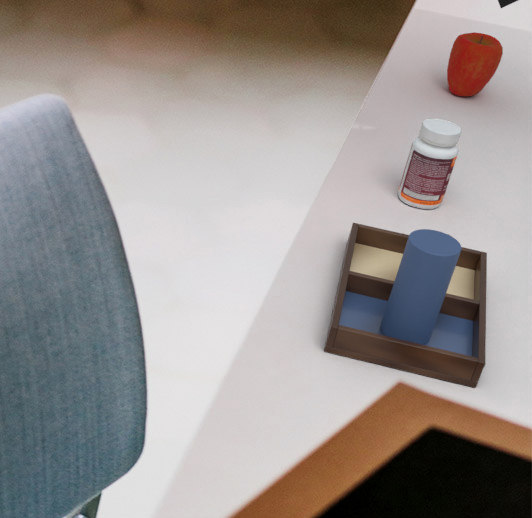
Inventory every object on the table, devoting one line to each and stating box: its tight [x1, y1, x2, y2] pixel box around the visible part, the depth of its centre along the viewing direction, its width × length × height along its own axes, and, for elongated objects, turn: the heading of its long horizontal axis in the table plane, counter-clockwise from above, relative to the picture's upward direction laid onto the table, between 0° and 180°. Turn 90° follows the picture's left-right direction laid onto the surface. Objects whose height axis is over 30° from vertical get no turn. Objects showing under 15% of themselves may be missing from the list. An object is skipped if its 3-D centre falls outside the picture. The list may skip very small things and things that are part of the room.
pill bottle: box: [397, 117, 462, 210], centre depth 125 cm, size 5×5×8 cm
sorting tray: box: [323, 222, 488, 389], centre depth 108 cm, size 13×20×3 cm, turn 164°
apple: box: [446, 32, 504, 97], centre depth 150 cm, size 6×6×8 cm
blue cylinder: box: [381, 228, 462, 345], centre depth 102 cm, size 4×4×9 cm
